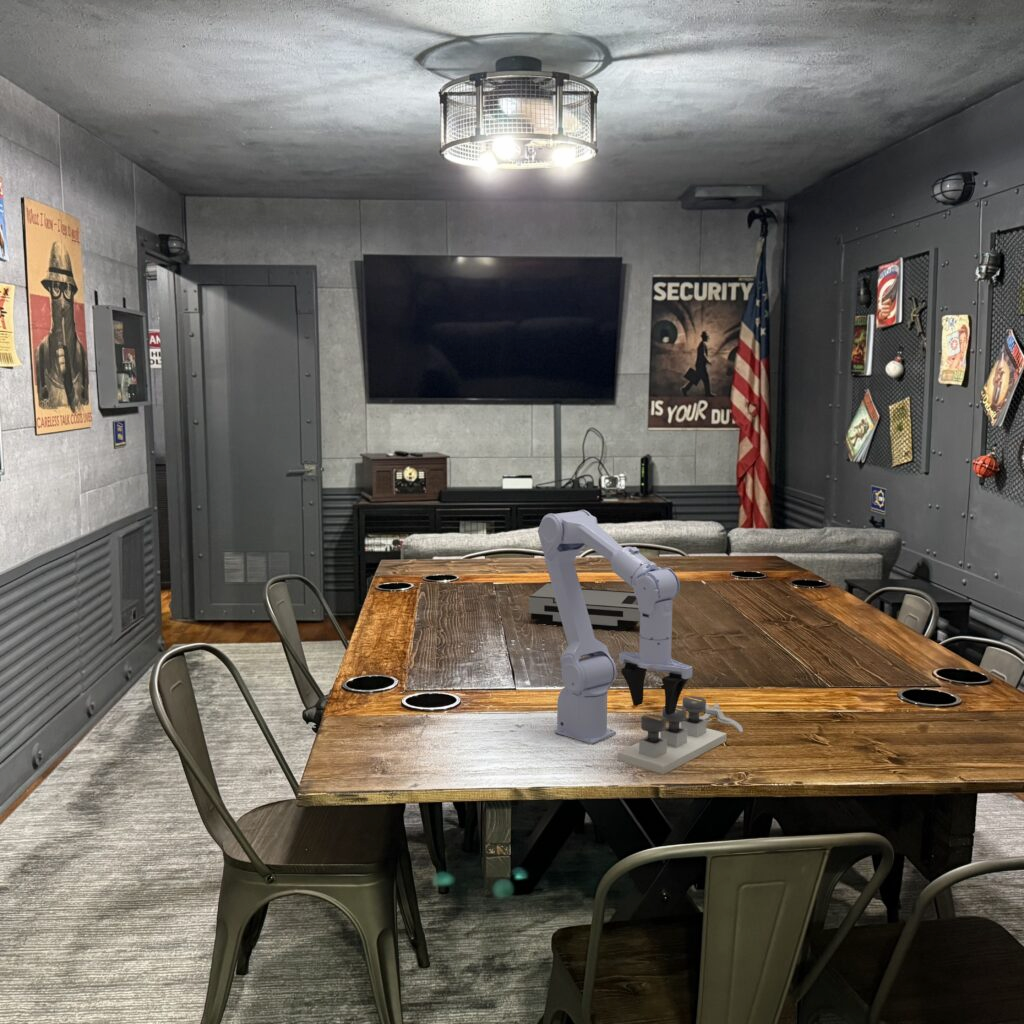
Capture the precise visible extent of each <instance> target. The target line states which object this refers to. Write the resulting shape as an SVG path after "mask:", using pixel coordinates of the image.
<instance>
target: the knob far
mask: <svg viewBox="0 0 1024 1024" xmlns="http://www.w3.org/2000/svg"><path fill="white" fill-rule="evenodd" d="M706 704H707V700H706V699H705V698H704V697H701V696H696V695H695V696H694V695H692V696H691V695H690V696H685V697H683V698H682V707H685V708H686V713H687V712H688V716H687V717H688V721H689V722H692V723H697V722H699V717H700V714H701V713H704V711H705V710H706Z"/></svg>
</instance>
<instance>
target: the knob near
mask: <svg viewBox="0 0 1024 1024" xmlns="http://www.w3.org/2000/svg"><path fill="white" fill-rule="evenodd" d="M640 724H641V727H640V728H641V730H643V731H646V732H647V736H648V741H649V742H653V743H655V742H658V741H659V733H660V732H661V731H664V730H665V729H666V726H667V725H666V724H667V721H666V718H665V717H663V716H662V715H661V714H652V713H651V714H644V715H642V716H641V723H640Z"/></svg>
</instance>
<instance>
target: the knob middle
mask: <svg viewBox="0 0 1024 1024" xmlns="http://www.w3.org/2000/svg"><path fill="white" fill-rule="evenodd" d="M661 716H663V717H665V718H666V722H668V726H669V731H670V732H679V725H680V722H683V721H685V720H686V718H687V711H686V708H685V707H682V706H681V705H678V704H677V706H676V710H675V713H672V714H670V715H667V714H666V712H665V705H664V706H663V707H662V715H661Z"/></svg>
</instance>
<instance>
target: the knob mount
mask: <svg viewBox="0 0 1024 1024" xmlns="http://www.w3.org/2000/svg"><path fill="white" fill-rule="evenodd" d="M688 717H689V716H686V720H685V721H683V722H680V725H679V732H670V731H669V725H668V726H667V727H666V729H665V730H664V731H661V732H659V741H658V742H655V743H653V742H649V741H648V735H647V736H645V737H643V738H641V739H639V742H637V743H635V744H633V745H631V746H629V747H626V748H624V749H621V750H620V751H618V752H617V762H618V761H619V762H622V763H625V764H629V765H630V766H636V767H638V768H641V769H644V770H648V771H651V772H654V773H658V774H661V775H665V774H667V773H669V772H671V771H673V770H676V769H678V767H680V766H681V767H682V766H683V765H685V764H686V763H688V762H690V761H691V760H694V759H695V758H698V757H699V756H702V755H703V754H705V753H707V752H708V751H710V750H712V749H714V748H716V747H718V746H720V745H721V744H724V743H726V742H727V737H728V734H727V733H726V732H724V731H718V730H716V729H715V730H714V729H711V728H709V727H707V725H708V723H707V721H708V720H704V719H700V718H699V722H697V723H692V722H689V721H688Z"/></svg>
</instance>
